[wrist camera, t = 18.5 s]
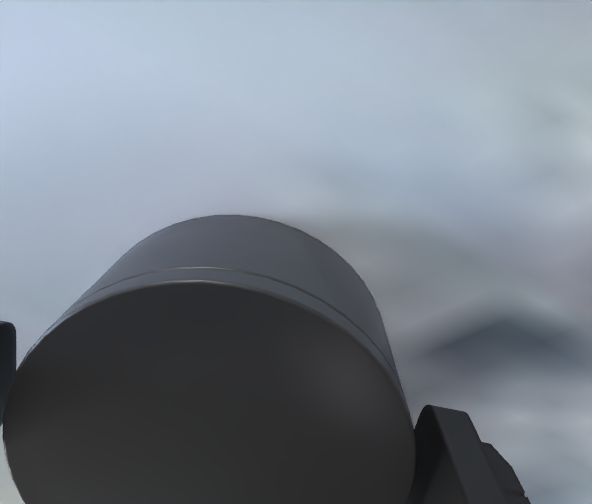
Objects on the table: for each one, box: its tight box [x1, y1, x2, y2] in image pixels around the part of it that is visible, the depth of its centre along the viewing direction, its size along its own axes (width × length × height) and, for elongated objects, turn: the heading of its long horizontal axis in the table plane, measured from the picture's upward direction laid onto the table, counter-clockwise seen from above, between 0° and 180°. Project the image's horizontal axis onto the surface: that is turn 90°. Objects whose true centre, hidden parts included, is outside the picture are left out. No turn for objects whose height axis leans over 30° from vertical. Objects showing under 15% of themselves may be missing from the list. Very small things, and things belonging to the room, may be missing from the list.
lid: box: [3, 215, 417, 504], centre depth 10 cm, size 7×7×3 cm
